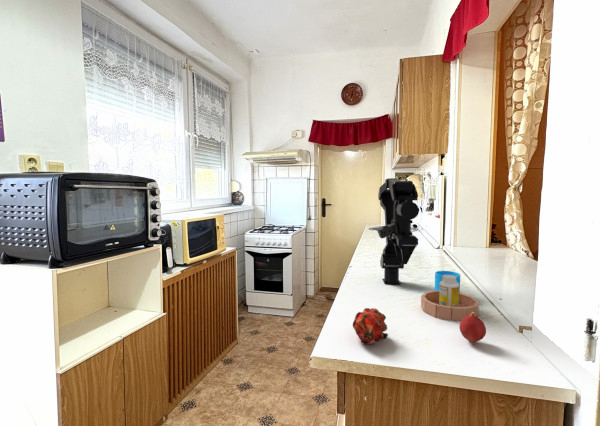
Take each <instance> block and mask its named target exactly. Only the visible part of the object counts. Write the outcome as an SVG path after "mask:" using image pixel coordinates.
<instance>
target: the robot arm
mask: <svg viewBox="0 0 600 426" xmlns="http://www.w3.org/2000/svg"><path fill="white" fill-rule="evenodd" d="M377 197H378V201H379V205H380V206H381V208H382V210H383V213H384V225H383V226H380V227H378V228H376V232H377V234H378V237H379V238H380V239H385V246H384V247H383V250H382V253H381V256H380V260H379V261H380V262H379V263H380V265H379V266H380V268H381V269H383V270H384V275H383V276H384V277H383V278H382V282H383V283H384V285H402V282H401V281H400V277H399V276H400V270H401V269H402V270H404V268H405V265H407V264H408V262H409V260H410V259H411V256H412V254H413V253H414V251H415V249H416V248H417V247H418V245H419V239H418V237H417V236H415V235H414V234H413V232H412V230H411V229H412V224H413V220H414V219H415V218H417V216H418V215H419V212H420V209H419V206H418V204H416V203H415V202H414V201H418V197H419V194H418V190H417V188H416V185H415V184H414V182H413V181H412V180H400V179H399V178H397V177H396V178H394V177H392V178H386V179H384V183H383V184H382V185H381V186H380V187H379V188H378V196H377Z"/></svg>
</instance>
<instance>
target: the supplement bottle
mask: <svg viewBox="0 0 600 426" xmlns="http://www.w3.org/2000/svg"><path fill="white" fill-rule="evenodd" d="M439 305H444V306H449V307H459V284H458V283H457V282H456V276H453V275H443V276H442V281H441V282H440V288H439Z"/></svg>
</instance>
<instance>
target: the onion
mask: <svg viewBox="0 0 600 426" xmlns="http://www.w3.org/2000/svg"><path fill="white" fill-rule="evenodd" d="M459 331H460V333H461V335H462V337H463V338H464V339H466V341H468V342H469V343H470V344H473V345H474V344H476V343H478V342H479V341H481V340H483V339H484V338H485V336H486V334H487V327H486V325H485V323H484V321H483V320H482V319H481V318H480V317H479V316H478V317H477V316H476V314H475V313H474V312H472V313H471V314H470V315H467V316H466V317H464V318H463V319H462V321H459Z"/></svg>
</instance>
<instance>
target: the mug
mask: <svg viewBox="0 0 600 426" xmlns="http://www.w3.org/2000/svg"><path fill="white" fill-rule="evenodd" d="M443 275H453V276H456V282H457V283H458V284H459V293H461V273H458V272H456V271H451V270H437V271H434V291H439V288H440V282H441V281H442V276H443Z"/></svg>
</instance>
